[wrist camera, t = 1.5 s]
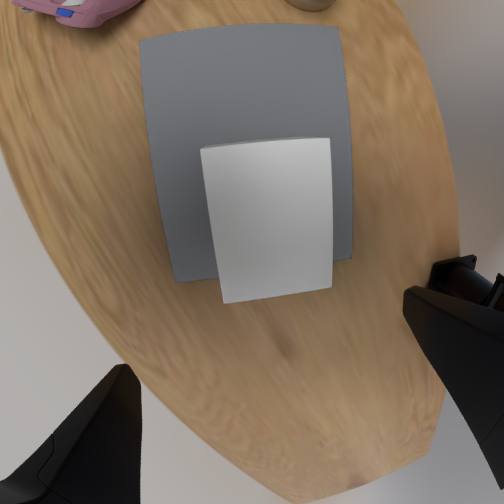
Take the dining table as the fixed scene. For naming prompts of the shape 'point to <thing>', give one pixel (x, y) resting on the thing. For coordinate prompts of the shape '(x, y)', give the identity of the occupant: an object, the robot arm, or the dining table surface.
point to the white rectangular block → (270, 215)
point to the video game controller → (78, 10)
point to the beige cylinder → (310, 4)
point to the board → (239, 119)
